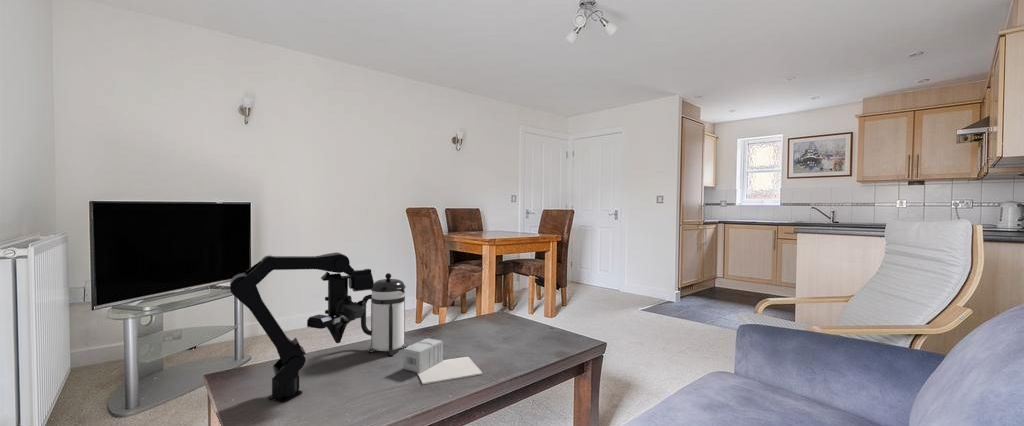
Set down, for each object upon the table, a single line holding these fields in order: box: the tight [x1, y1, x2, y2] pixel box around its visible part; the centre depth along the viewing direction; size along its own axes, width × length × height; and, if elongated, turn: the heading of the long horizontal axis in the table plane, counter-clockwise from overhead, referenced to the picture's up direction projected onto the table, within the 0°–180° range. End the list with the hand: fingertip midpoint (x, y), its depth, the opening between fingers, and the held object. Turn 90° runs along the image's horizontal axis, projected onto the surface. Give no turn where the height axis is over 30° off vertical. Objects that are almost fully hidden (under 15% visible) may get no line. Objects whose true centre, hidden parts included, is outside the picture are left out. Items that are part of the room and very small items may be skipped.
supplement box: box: [402, 337, 444, 374], centre depth 141 cm, size 7×7×13 cm
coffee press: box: [360, 272, 408, 357], centre depth 156 cm, size 17×16×30 cm
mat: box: [416, 356, 484, 385], centre depth 138 cm, size 20×16×1 cm
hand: (338, 342), depth 126 cm, fingers closed
